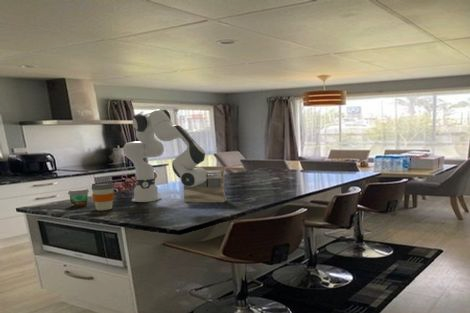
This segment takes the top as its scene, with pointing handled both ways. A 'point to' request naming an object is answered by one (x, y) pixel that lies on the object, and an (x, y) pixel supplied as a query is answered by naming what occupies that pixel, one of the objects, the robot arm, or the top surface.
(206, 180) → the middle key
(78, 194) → the food container
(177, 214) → the top surface
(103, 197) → the reusable coffee cup
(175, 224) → the top surface
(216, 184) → the key
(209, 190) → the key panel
